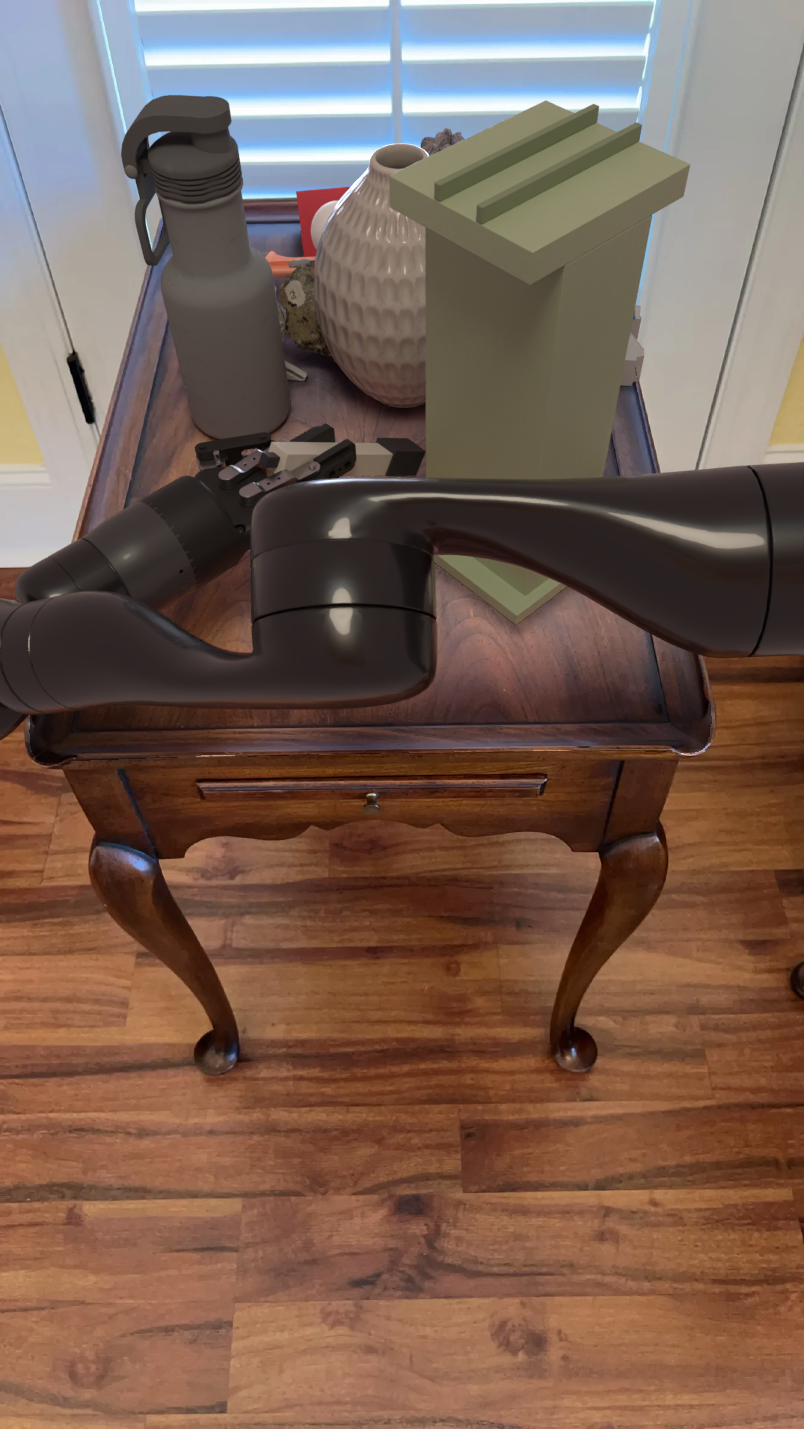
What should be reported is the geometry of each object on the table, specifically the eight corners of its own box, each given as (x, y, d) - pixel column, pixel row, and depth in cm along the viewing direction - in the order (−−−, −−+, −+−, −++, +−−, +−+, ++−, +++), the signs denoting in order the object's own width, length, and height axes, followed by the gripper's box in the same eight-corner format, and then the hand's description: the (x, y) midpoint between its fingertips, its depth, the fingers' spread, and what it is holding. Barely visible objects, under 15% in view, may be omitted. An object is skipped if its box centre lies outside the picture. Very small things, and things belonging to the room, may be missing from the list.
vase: (318, 345, 103) (294, 117, 85) (471, 331, 104) (480, 103, 86) (330, 447, 94) (307, 216, 76) (498, 430, 95) (515, 198, 77)
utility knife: (251, 248, 107) (392, 242, 99) (254, 257, 108) (395, 251, 99) (231, 271, 105) (373, 266, 97) (234, 279, 106) (376, 275, 97)
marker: (269, 479, 73) (279, 450, 72) (250, 464, 74) (259, 434, 73) (416, 476, 86) (426, 450, 85) (397, 462, 87) (407, 437, 86)
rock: (323, 394, 101) (258, 320, 94) (328, 345, 106) (266, 271, 100) (367, 367, 98) (303, 288, 92) (369, 317, 104) (309, 240, 97)
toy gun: (643, 361, 96) (649, 302, 101) (495, 347, 98) (509, 290, 103) (638, 388, 98) (644, 328, 104) (494, 373, 100) (507, 316, 106)
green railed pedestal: (507, 631, 81) (547, 241, 54) (392, 542, 87) (377, 152, 60) (619, 546, 86) (707, 152, 59) (504, 468, 92) (536, 78, 65)
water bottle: (175, 440, 95) (95, 132, 72) (203, 377, 101) (137, 73, 78) (278, 449, 94) (230, 140, 71) (300, 385, 99) (263, 79, 77)
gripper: (208, 564, 66) (400, 446, 72) (96, 463, 72) (282, 362, 78) (226, 636, 72) (401, 521, 79) (121, 537, 78) (292, 438, 85)
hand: (341, 442), depth 78 cm, fingers closed on marker, 2 cm apart
